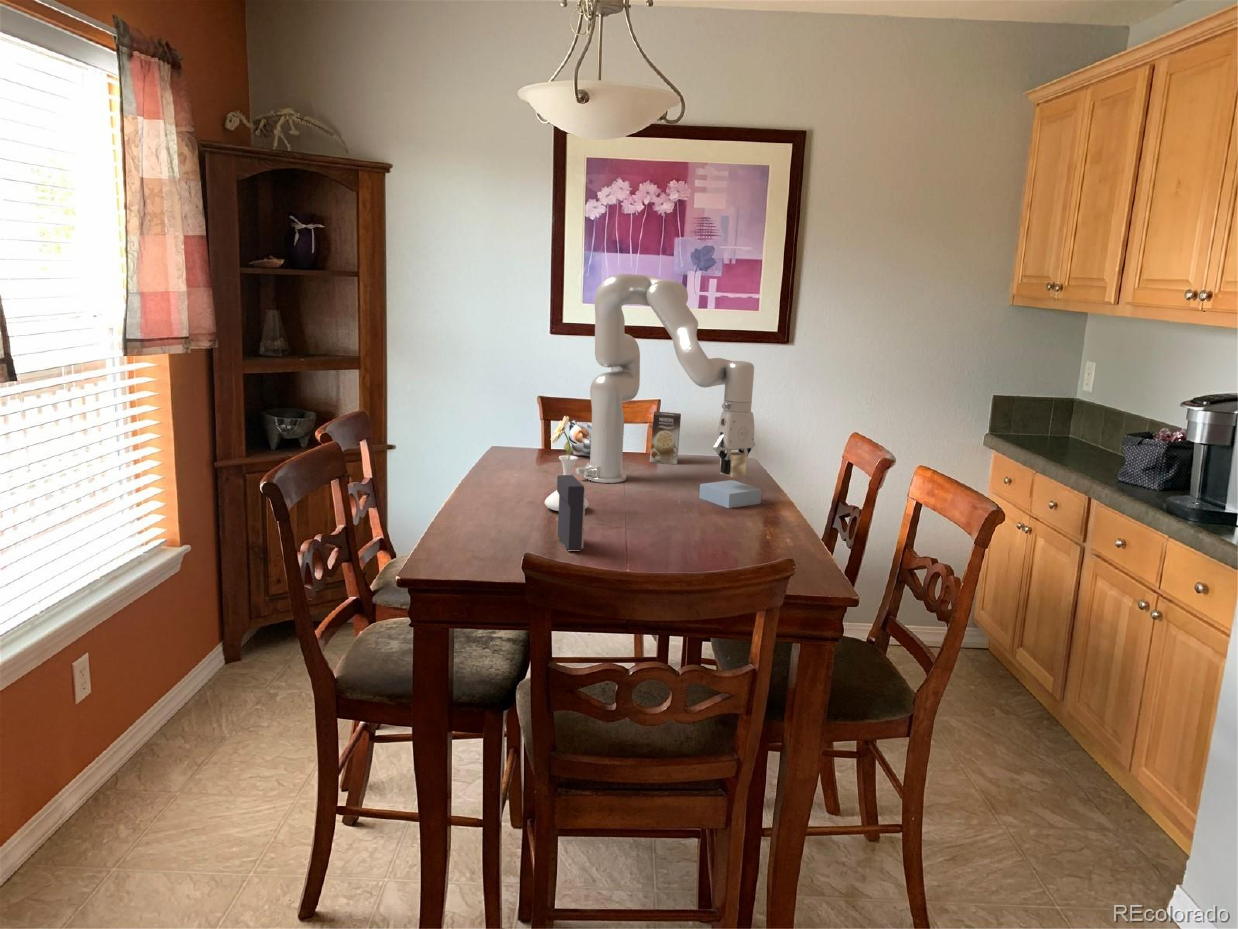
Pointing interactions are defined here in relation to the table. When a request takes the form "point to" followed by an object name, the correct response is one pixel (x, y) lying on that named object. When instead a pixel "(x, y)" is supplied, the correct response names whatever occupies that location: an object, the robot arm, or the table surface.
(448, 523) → the table surface
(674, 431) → the coffee box
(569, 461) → the flower in vase
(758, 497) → the base block
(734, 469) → the birch block
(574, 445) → the lucky cat figurine
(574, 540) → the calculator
